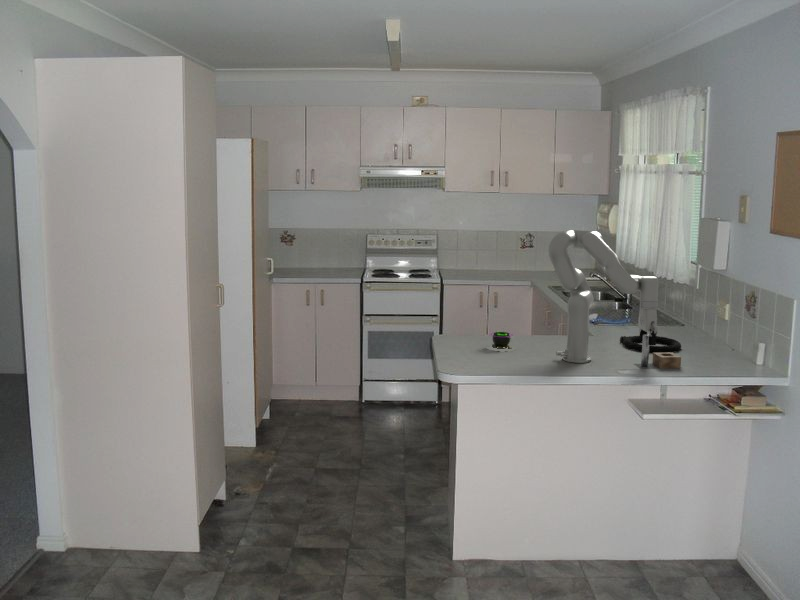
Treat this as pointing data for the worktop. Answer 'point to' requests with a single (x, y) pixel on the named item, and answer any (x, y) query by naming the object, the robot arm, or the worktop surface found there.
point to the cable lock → (631, 344)
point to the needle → (645, 351)
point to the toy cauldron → (501, 339)
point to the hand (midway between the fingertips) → (647, 342)
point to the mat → (649, 366)
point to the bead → (666, 360)
